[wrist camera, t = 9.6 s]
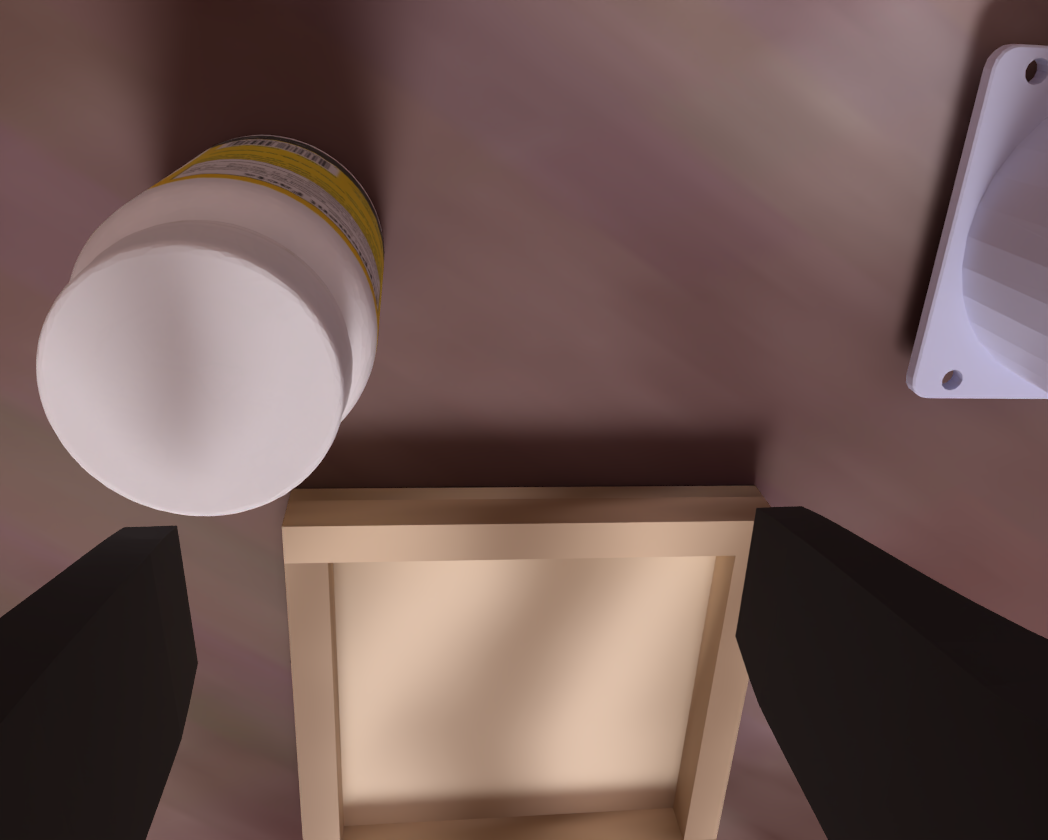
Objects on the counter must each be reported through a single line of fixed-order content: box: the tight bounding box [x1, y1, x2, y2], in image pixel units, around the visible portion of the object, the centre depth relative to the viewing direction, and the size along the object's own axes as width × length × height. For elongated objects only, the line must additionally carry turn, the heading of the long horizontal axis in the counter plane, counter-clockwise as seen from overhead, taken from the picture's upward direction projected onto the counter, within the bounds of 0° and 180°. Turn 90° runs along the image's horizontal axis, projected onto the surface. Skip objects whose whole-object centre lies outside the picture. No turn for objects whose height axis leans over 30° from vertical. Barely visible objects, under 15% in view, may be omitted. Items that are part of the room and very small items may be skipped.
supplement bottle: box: [36, 135, 384, 516], centre depth 15 cm, size 5×5×8 cm
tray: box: [282, 486, 771, 840], centre depth 24 cm, size 12×12×2 cm
